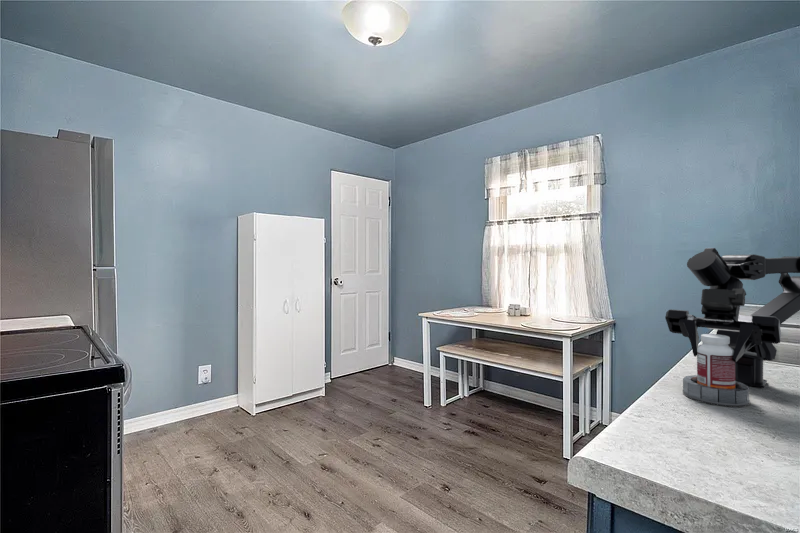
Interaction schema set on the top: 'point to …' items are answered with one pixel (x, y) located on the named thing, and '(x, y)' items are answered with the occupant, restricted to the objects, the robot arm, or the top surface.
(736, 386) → the ring
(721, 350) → the pill bottle
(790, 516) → the top surface
